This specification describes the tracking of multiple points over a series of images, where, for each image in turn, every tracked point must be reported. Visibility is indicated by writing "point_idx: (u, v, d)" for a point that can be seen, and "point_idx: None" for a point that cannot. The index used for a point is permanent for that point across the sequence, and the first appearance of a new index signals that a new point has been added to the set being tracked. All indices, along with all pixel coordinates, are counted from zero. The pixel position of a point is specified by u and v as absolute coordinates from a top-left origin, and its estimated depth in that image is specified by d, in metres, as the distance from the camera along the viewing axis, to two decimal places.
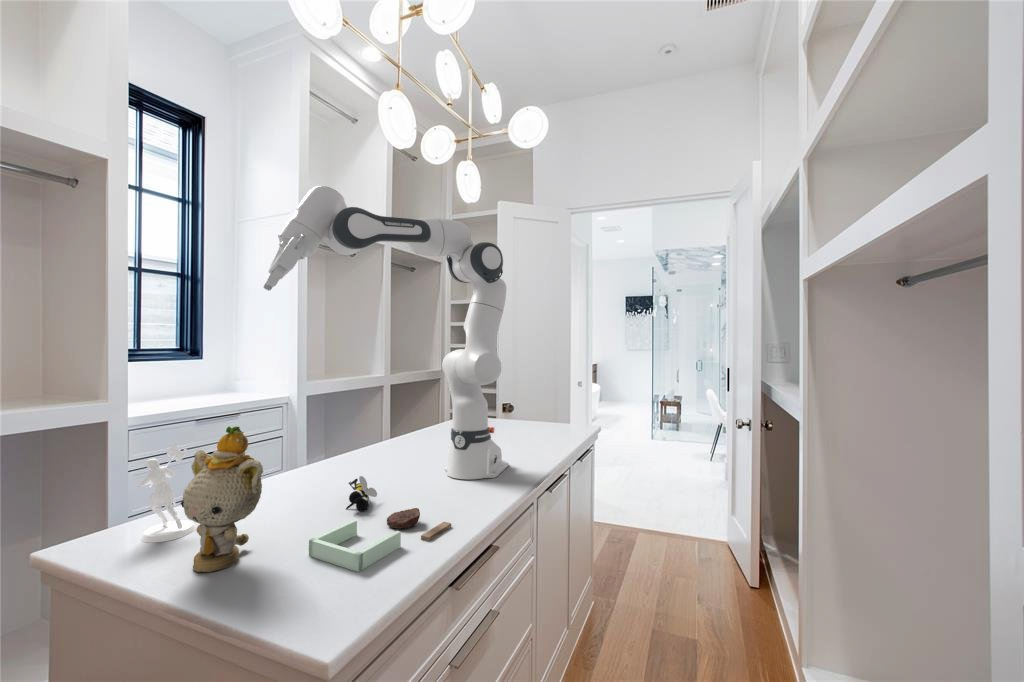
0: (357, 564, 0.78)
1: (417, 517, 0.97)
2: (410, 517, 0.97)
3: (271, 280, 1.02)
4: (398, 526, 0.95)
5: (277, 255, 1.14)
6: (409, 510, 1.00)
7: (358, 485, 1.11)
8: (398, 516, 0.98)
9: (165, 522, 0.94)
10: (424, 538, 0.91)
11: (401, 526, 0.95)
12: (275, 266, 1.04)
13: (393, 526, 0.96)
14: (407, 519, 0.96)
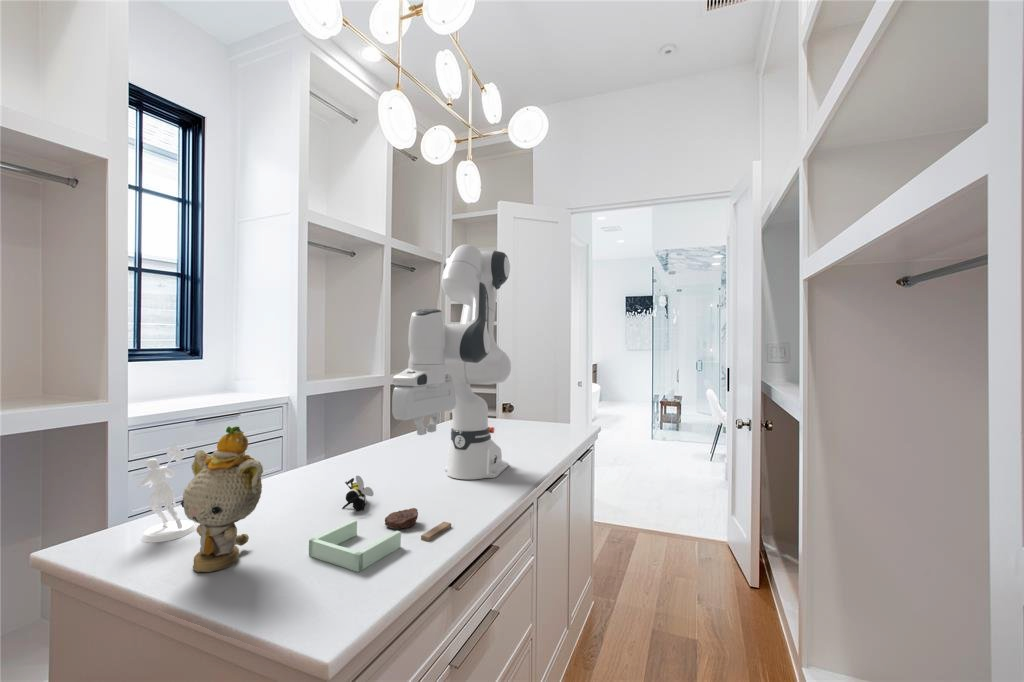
0: (357, 564, 0.78)
1: (415, 517, 0.96)
2: (408, 517, 0.97)
3: None
4: (396, 526, 0.95)
5: (411, 397, 0.97)
6: (407, 510, 1.00)
7: (355, 484, 1.11)
8: (396, 516, 0.98)
9: (165, 522, 0.94)
10: (424, 538, 0.91)
11: (399, 526, 0.95)
12: (439, 412, 1.08)
13: (391, 526, 0.96)
14: (405, 519, 0.96)
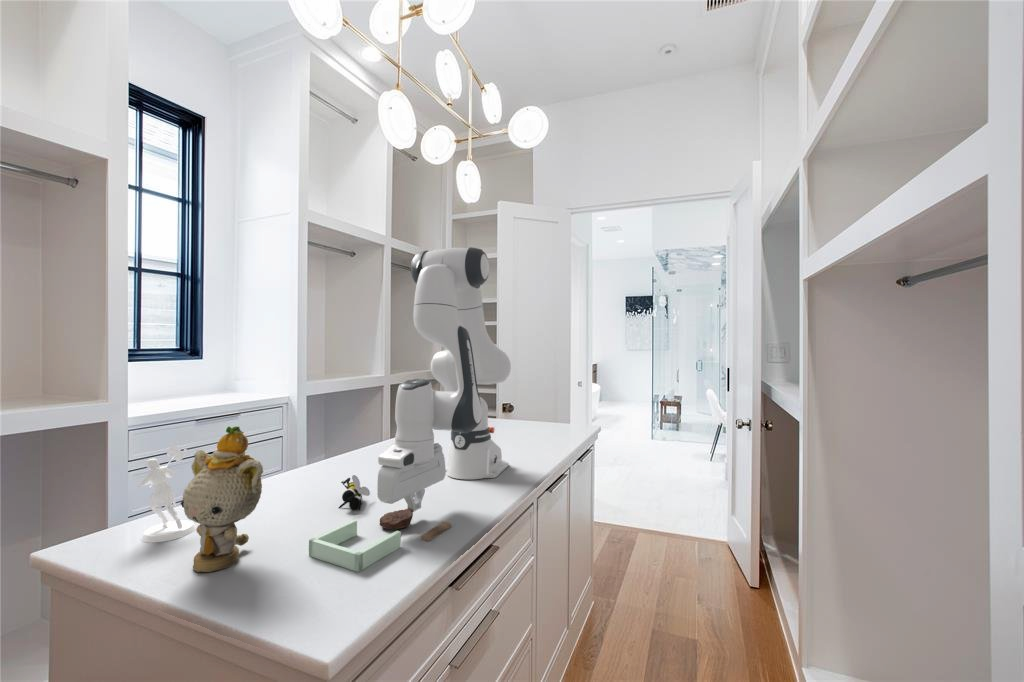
0: (357, 564, 0.78)
1: (410, 518, 0.96)
2: (403, 518, 0.96)
3: None
4: (390, 527, 0.94)
5: (397, 479, 0.93)
6: (402, 510, 0.99)
7: (351, 484, 1.12)
8: (391, 516, 0.97)
9: (165, 522, 0.94)
10: (424, 538, 0.91)
11: (393, 527, 0.94)
12: None
13: (385, 527, 0.95)
14: (400, 519, 0.95)
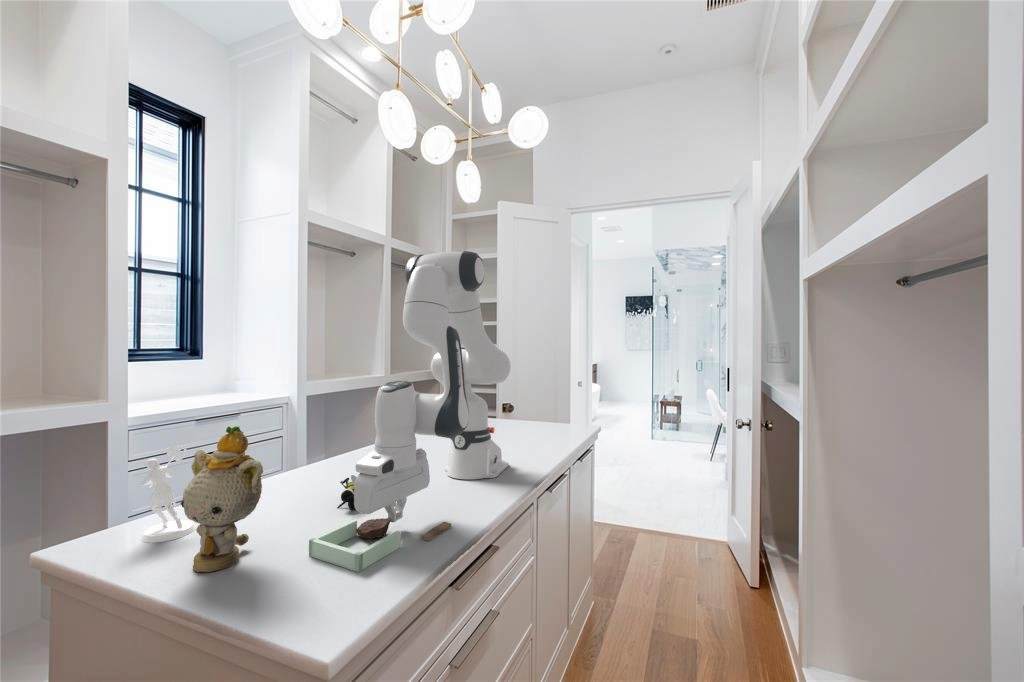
0: (357, 564, 0.78)
1: (380, 529, 0.90)
2: (374, 528, 0.90)
3: None
4: (361, 535, 0.90)
5: (376, 488, 0.87)
6: (382, 519, 0.94)
7: (350, 484, 1.12)
8: (368, 524, 0.93)
9: (165, 522, 0.94)
10: (424, 538, 0.91)
11: (364, 536, 0.90)
12: (410, 494, 0.98)
13: (358, 534, 0.91)
14: (370, 529, 0.90)
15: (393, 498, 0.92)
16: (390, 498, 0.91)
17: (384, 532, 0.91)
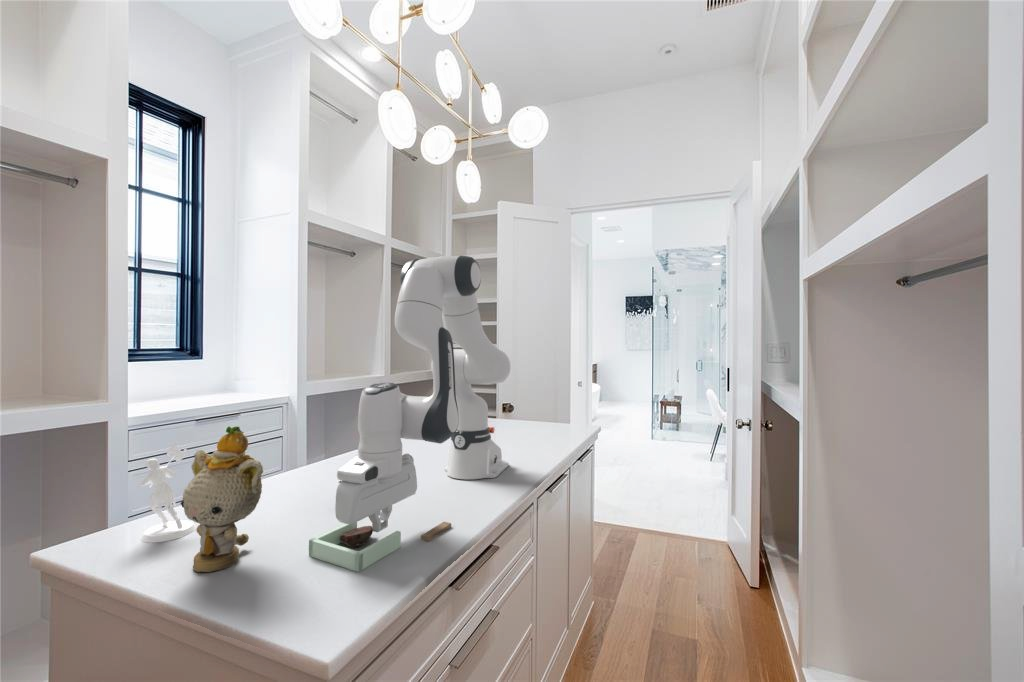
0: (357, 564, 0.78)
1: (346, 537, 0.86)
2: (348, 534, 0.87)
3: None
4: None
5: (358, 496, 0.82)
6: (366, 530, 0.89)
7: None
8: (359, 529, 0.90)
9: (165, 522, 0.94)
10: (424, 538, 0.91)
11: None
12: None
13: None
14: (345, 534, 0.88)
15: (377, 507, 0.87)
16: (374, 507, 0.86)
17: (355, 543, 0.86)
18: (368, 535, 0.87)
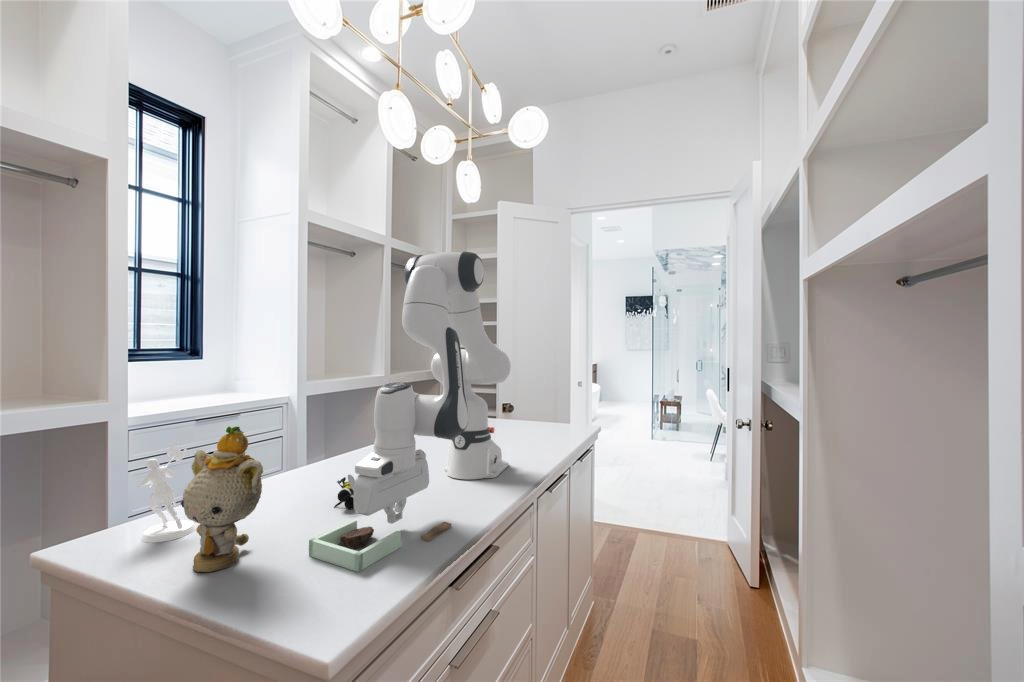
0: (357, 564, 0.78)
1: (346, 539, 0.86)
2: (348, 535, 0.87)
3: None
4: None
5: (375, 489, 0.88)
6: (367, 531, 0.89)
7: (346, 483, 1.12)
8: (359, 530, 0.91)
9: (165, 522, 0.94)
10: (424, 538, 0.91)
11: None
12: (409, 495, 0.98)
13: None
14: (346, 535, 0.88)
15: (392, 499, 0.92)
16: (389, 499, 0.92)
17: (356, 544, 0.86)
18: (369, 536, 0.88)
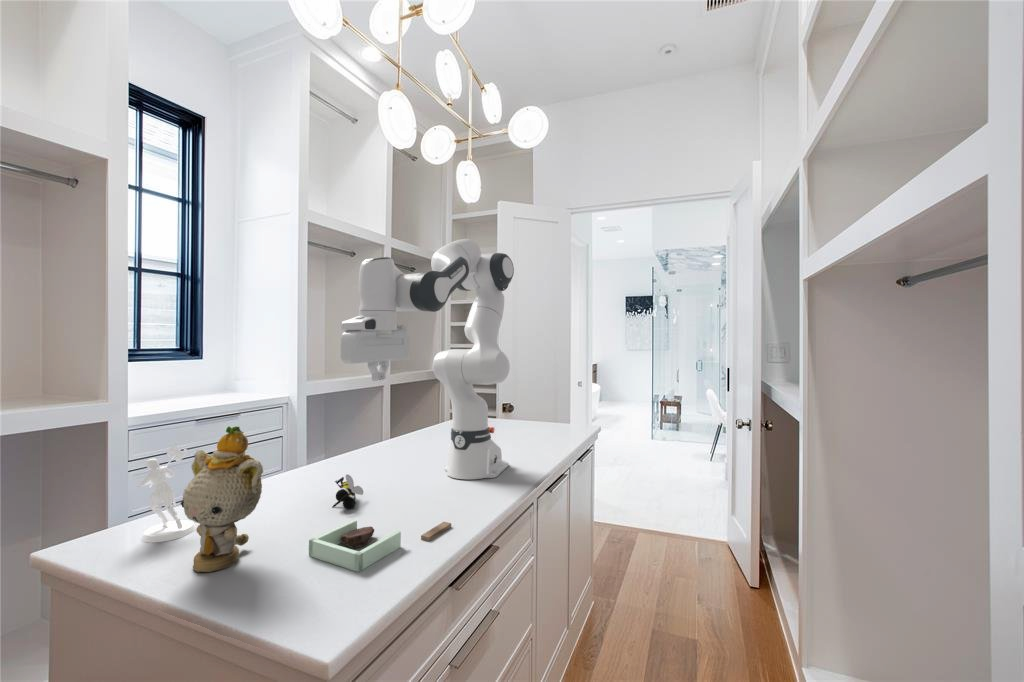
0: (357, 564, 0.78)
1: (346, 538, 0.86)
2: (349, 535, 0.87)
3: None
4: None
5: (359, 341, 0.98)
6: (367, 531, 0.89)
7: (344, 483, 1.12)
8: (360, 530, 0.91)
9: (165, 522, 0.94)
10: (424, 538, 0.91)
11: None
12: (392, 360, 1.09)
13: None
14: (346, 535, 0.88)
15: (376, 357, 1.03)
16: (373, 356, 1.03)
17: (356, 544, 0.87)
18: (369, 536, 0.88)
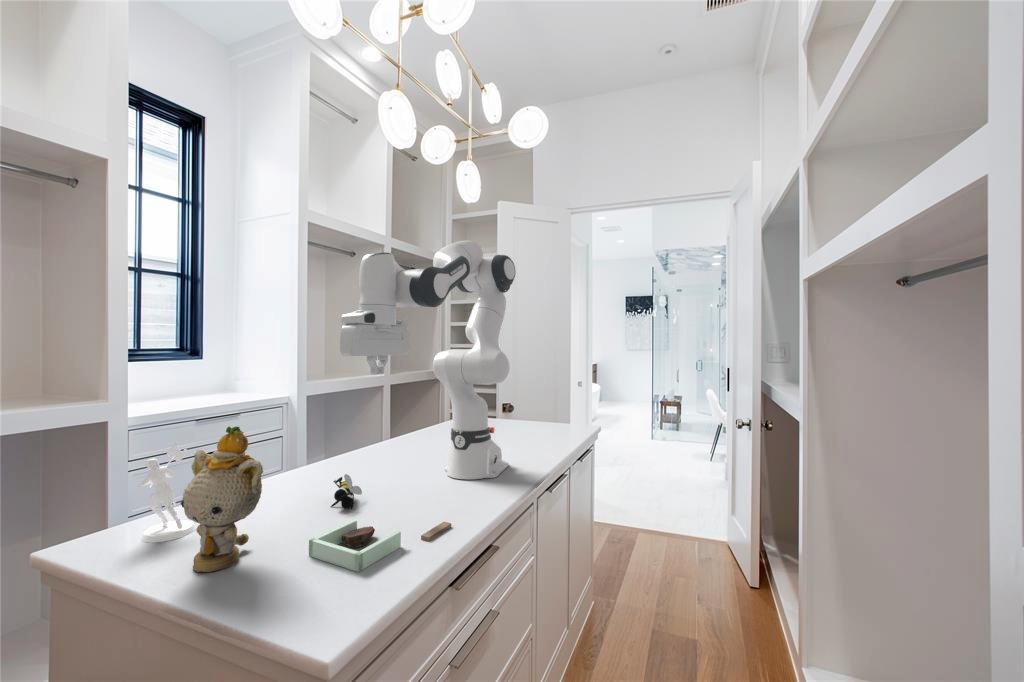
0: (357, 564, 0.78)
1: (347, 538, 0.86)
2: (349, 535, 0.88)
3: None
4: None
5: (358, 334, 0.99)
6: (368, 530, 0.89)
7: (343, 483, 1.12)
8: (360, 530, 0.91)
9: (165, 522, 0.94)
10: (424, 538, 0.91)
11: None
12: None
13: None
14: (346, 535, 0.88)
15: (375, 350, 1.04)
16: (372, 349, 1.03)
17: (357, 544, 0.87)
18: (369, 536, 0.88)
